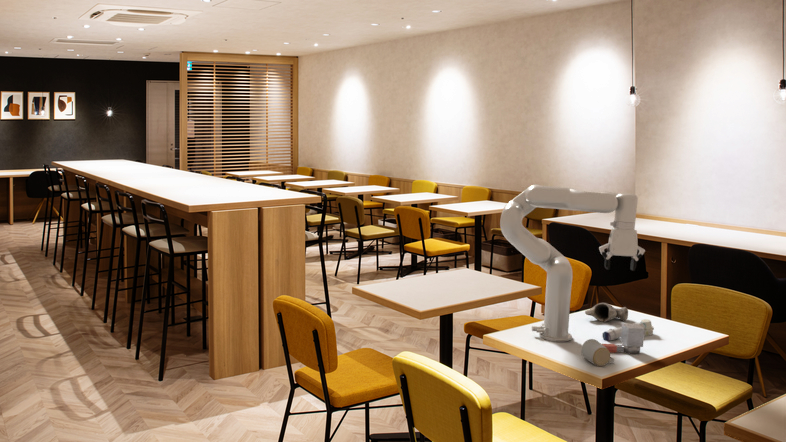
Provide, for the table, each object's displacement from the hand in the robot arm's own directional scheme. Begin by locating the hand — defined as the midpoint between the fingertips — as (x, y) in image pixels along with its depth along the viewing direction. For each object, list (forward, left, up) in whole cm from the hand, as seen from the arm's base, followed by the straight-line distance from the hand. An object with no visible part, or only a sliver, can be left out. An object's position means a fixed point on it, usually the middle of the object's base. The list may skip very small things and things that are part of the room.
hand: (619, 269), depth 233 cm
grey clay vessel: (+8, +30, -30) cm, 43 cm away
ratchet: (-2, -10, -29) cm, 31 cm away
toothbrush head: (+9, +8, -30) cm, 32 cm away
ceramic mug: (-14, -22, -29) cm, 40 cm away
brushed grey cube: (+2, -11, -26) cm, 28 cm away
